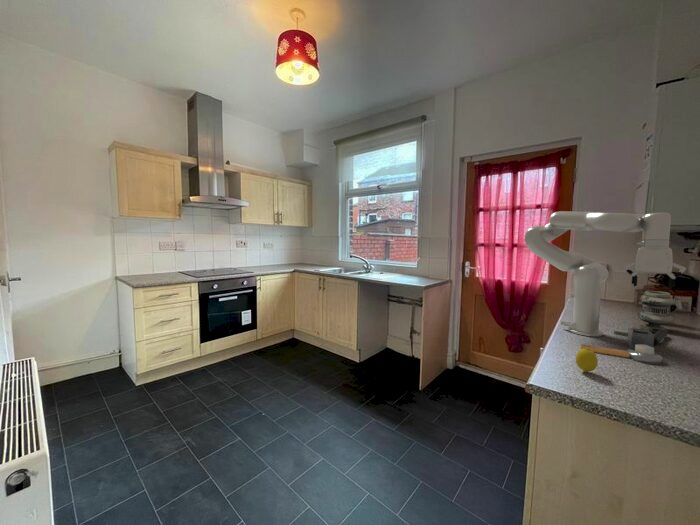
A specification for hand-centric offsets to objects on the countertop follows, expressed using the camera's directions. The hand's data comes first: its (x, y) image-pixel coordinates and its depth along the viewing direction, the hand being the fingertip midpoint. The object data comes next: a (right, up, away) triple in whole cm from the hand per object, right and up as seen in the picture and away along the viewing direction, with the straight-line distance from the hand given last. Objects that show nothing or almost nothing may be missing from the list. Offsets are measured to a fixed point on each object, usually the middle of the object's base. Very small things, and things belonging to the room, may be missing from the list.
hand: (651, 287), depth 117 cm
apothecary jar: (+27, -23, +25) cm, 43 cm away
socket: (-5, -24, 0) cm, 25 cm away
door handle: (+8, -24, +13) cm, 28 cm away
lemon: (-44, -26, -22) cm, 56 cm away
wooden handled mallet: (-20, -25, -7) cm, 33 cm away
